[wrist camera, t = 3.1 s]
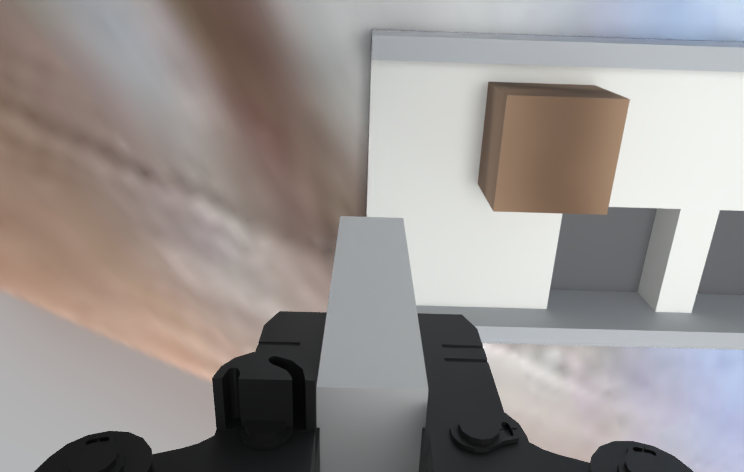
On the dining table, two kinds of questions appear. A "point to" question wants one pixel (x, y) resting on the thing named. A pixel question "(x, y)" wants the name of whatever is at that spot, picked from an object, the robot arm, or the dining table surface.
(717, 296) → the box
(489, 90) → the walnut block
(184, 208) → the dining table surface
